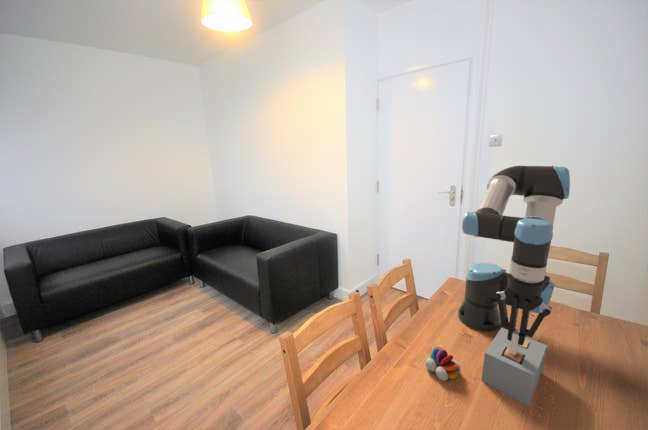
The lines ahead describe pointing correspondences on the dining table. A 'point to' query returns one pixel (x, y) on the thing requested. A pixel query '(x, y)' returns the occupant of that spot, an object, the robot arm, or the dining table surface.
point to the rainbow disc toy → (442, 364)
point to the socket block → (514, 367)
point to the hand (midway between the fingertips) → (513, 351)
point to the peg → (513, 356)
